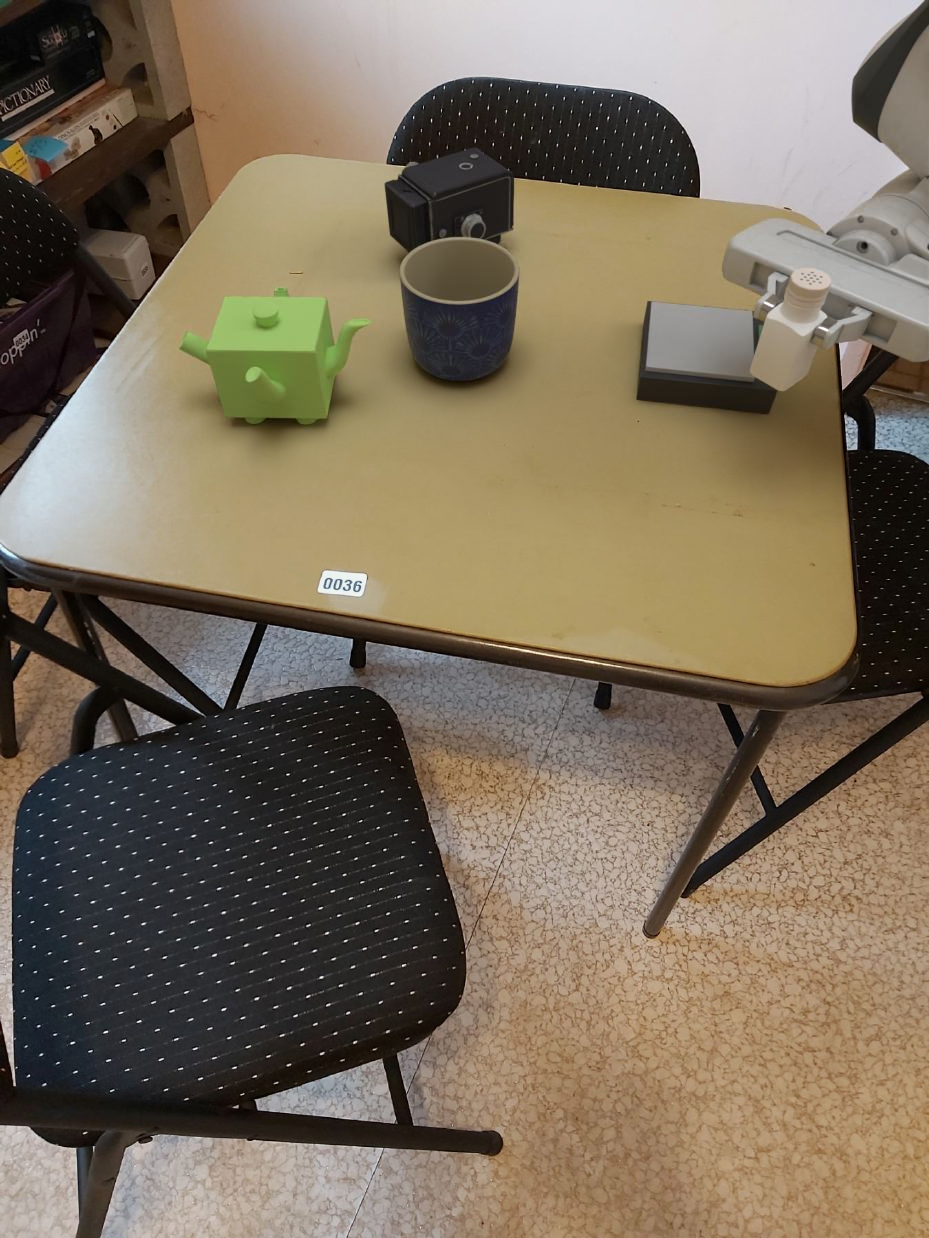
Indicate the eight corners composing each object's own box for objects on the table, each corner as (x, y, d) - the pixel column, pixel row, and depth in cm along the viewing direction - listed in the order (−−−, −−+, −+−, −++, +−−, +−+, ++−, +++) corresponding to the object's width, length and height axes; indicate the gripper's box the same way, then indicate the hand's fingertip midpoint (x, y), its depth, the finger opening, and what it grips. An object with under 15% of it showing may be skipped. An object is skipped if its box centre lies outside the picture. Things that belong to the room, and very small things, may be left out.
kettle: (381, 401, 90) (371, 309, 81) (277, 467, 85) (253, 376, 76) (295, 342, 97) (276, 250, 88) (192, 400, 91) (160, 308, 82)
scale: (765, 335, 97) (774, 307, 94) (769, 414, 89) (779, 386, 86) (643, 323, 98) (648, 296, 95) (636, 399, 90) (641, 372, 87)
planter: (461, 312, 100) (460, 223, 91) (538, 358, 95) (544, 268, 86) (383, 358, 95) (374, 268, 86) (459, 408, 90) (457, 318, 81)
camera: (472, 229, 113) (375, 252, 107) (480, 138, 105) (375, 158, 99) (518, 264, 108) (419, 290, 102) (530, 172, 99) (422, 194, 93)
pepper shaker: (745, 374, 75) (775, 277, 67) (772, 356, 77) (805, 258, 69) (782, 396, 73) (817, 298, 66) (809, 376, 75) (847, 279, 67)
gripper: (778, 185, 78) (694, 245, 72) (997, 267, 69) (921, 343, 63) (760, 250, 83) (680, 311, 77) (961, 333, 74) (888, 409, 68)
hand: (791, 326), depth 70 cm, fingers closed on pepper shaker, 4 cm apart
